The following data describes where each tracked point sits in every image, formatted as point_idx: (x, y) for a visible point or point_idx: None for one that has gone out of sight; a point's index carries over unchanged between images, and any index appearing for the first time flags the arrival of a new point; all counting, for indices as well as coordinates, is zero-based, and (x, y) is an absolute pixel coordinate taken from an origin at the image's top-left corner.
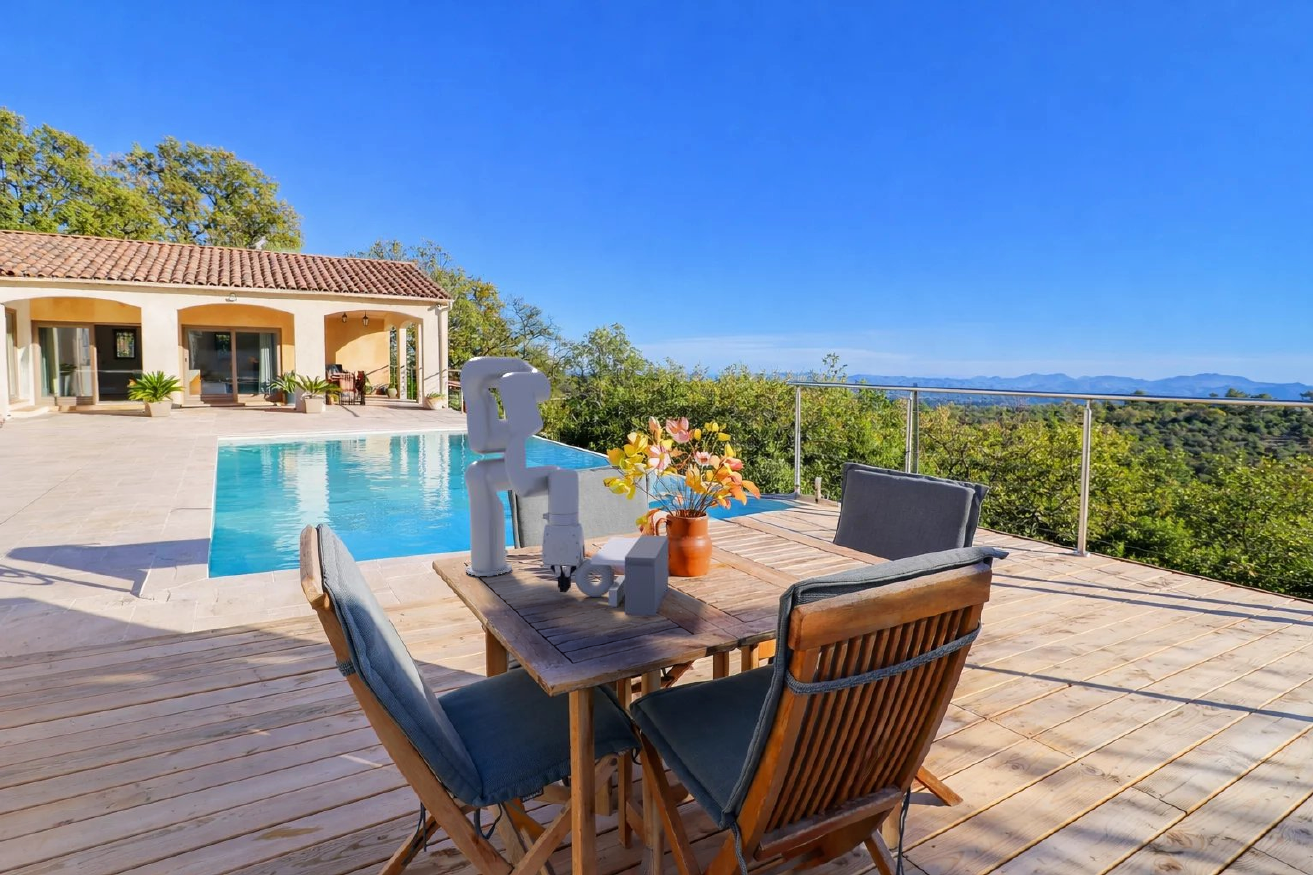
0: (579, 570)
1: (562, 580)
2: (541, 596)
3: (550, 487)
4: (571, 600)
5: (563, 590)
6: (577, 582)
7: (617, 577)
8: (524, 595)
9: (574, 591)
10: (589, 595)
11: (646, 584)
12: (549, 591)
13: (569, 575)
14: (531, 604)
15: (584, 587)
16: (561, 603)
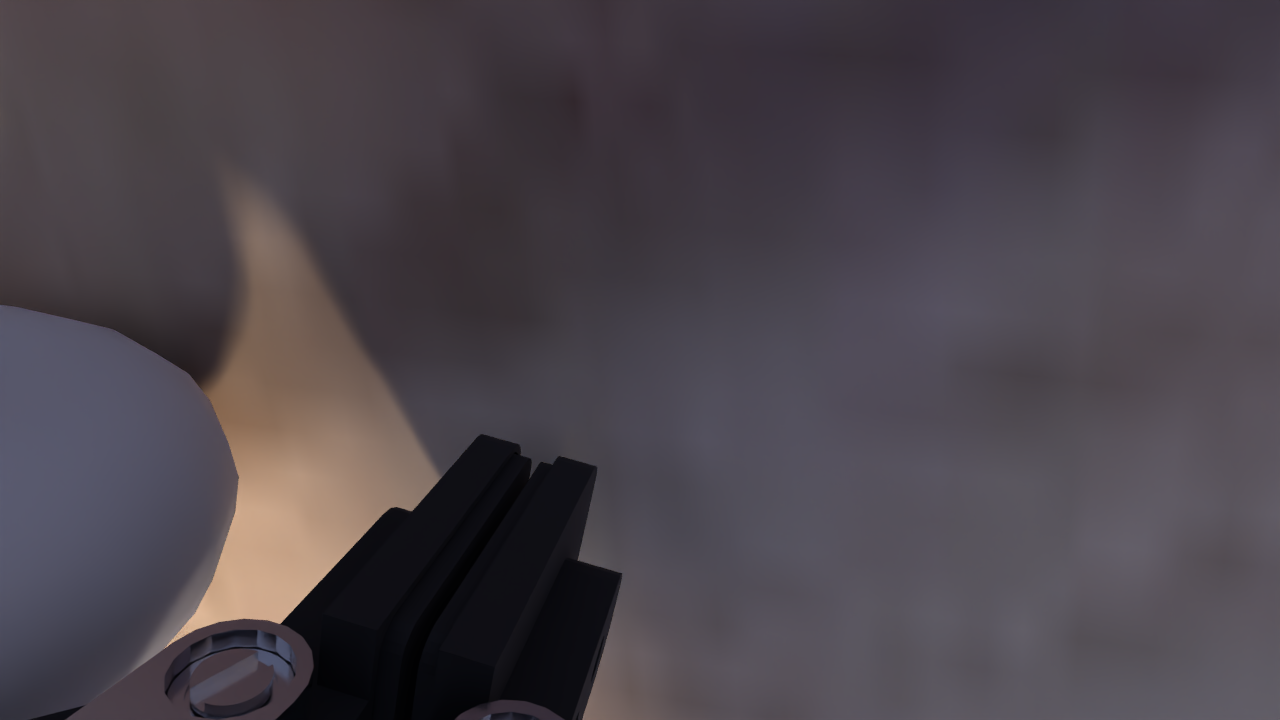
0: None
1: (455, 598)
2: (938, 512)
3: None
4: (405, 244)
5: (515, 464)
6: (108, 451)
7: None
8: (1260, 608)
9: None
10: (116, 331)
11: None
12: (801, 715)
13: (186, 637)
14: (1173, 61)
15: (53, 364)
16: (556, 88)
